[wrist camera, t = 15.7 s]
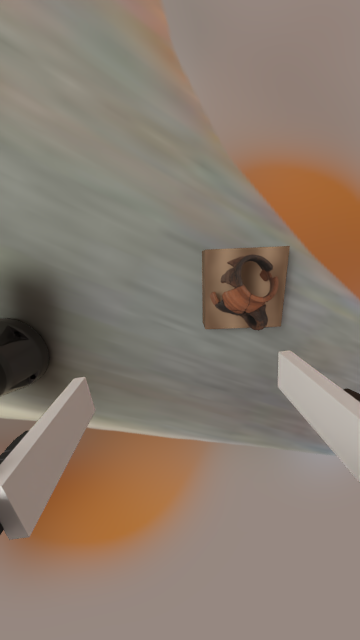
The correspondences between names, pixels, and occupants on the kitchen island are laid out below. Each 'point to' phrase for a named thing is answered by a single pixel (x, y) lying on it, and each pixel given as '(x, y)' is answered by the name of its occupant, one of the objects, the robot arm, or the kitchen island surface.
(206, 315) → the walnut riser block
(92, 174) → the kitchen island surface
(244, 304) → the brown piece
